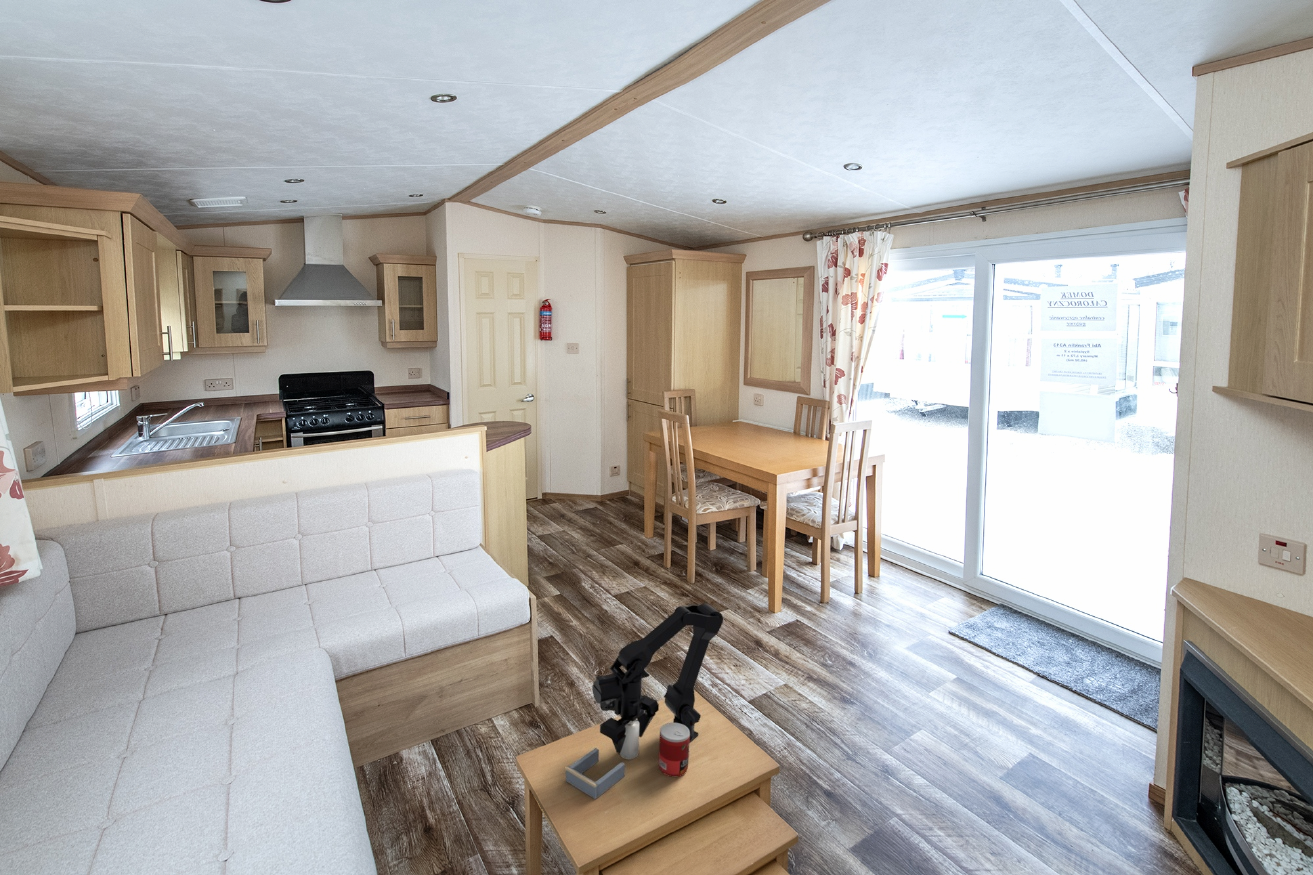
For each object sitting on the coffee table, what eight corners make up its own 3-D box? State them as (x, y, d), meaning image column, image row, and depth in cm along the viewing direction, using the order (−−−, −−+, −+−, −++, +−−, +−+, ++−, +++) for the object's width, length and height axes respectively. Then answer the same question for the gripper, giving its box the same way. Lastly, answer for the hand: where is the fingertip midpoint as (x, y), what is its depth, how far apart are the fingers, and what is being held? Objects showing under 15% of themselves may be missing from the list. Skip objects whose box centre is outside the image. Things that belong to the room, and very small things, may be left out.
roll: (627, 744, 191) (628, 715, 189) (642, 752, 188) (643, 722, 186) (615, 753, 187) (616, 723, 185) (630, 761, 183) (631, 731, 182)
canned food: (685, 779, 177) (687, 742, 175) (655, 774, 179) (657, 737, 177) (690, 761, 185) (691, 724, 182) (661, 756, 186) (662, 720, 184)
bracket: (595, 759, 184) (595, 745, 183) (624, 776, 178) (624, 762, 177) (564, 781, 175) (565, 767, 174) (594, 799, 169) (594, 785, 168)
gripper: (630, 669, 196) (628, 717, 199) (585, 696, 181) (584, 748, 184) (660, 682, 189) (658, 733, 192) (616, 712, 175) (615, 766, 177)
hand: (629, 744), depth 187 cm, fingers open, 9 cm apart
